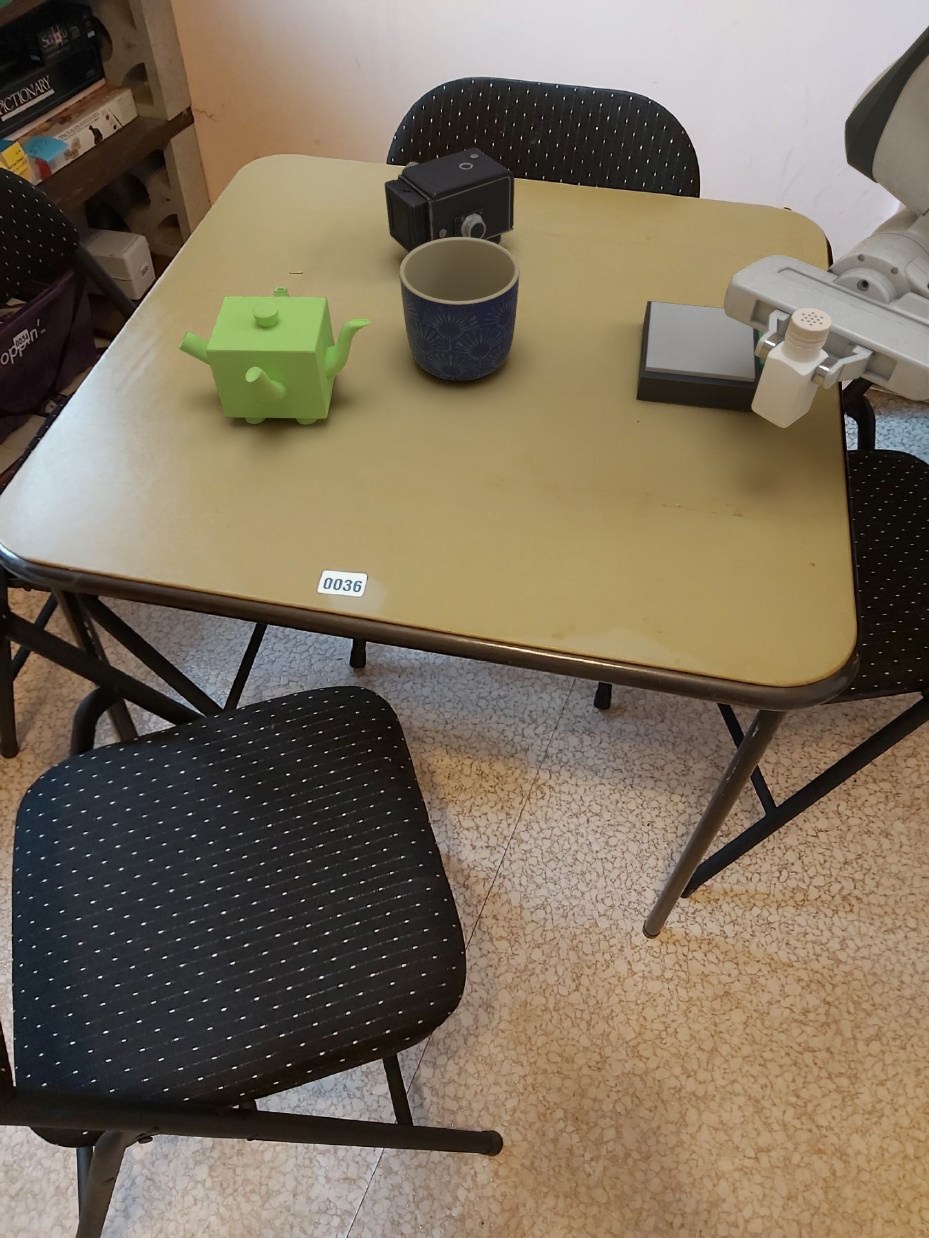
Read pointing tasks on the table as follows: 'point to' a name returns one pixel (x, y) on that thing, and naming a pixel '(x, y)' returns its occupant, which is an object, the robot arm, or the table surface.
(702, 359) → the scale
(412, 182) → the camera
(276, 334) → the kettle
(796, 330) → the pepper shaker
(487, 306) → the planter
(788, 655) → the table surface
